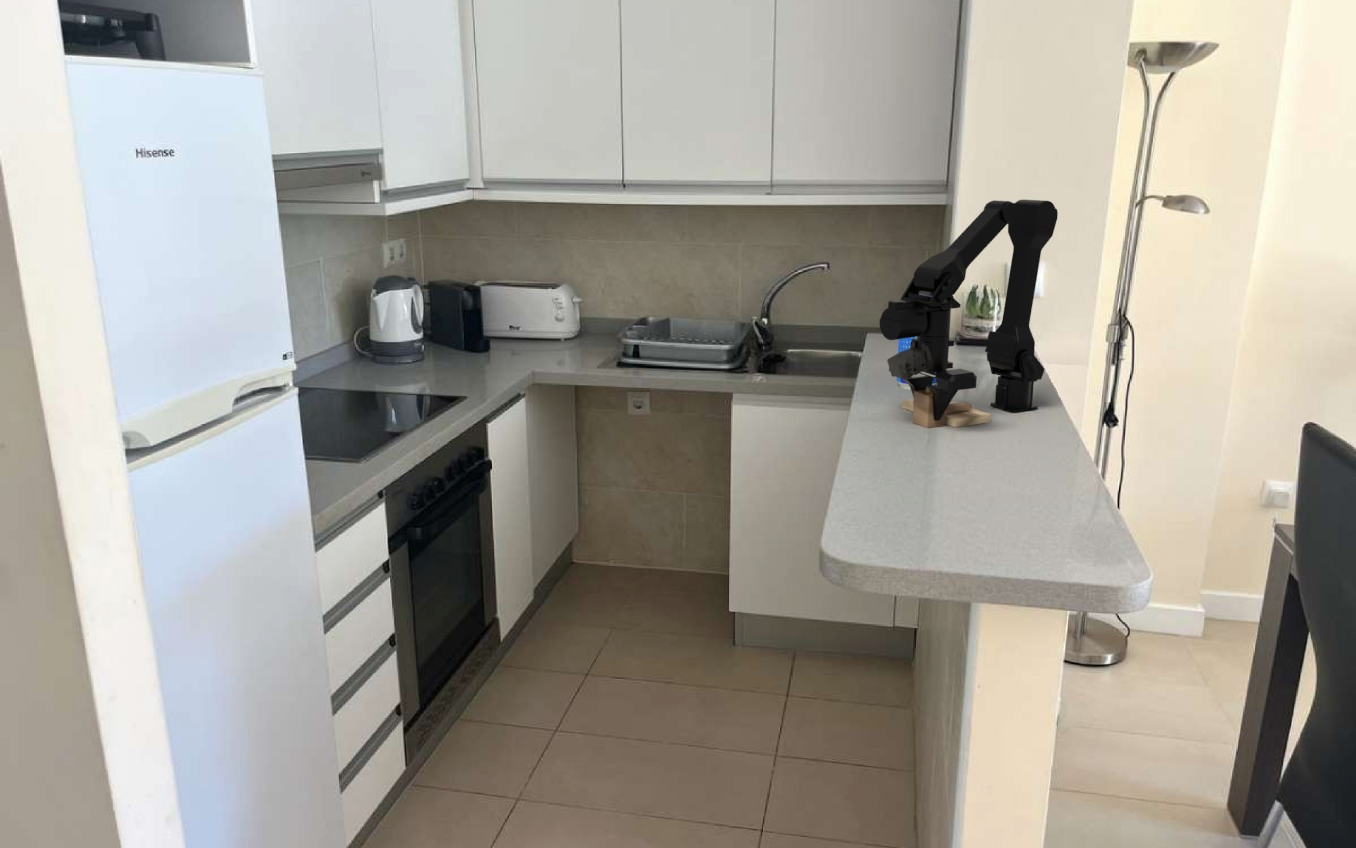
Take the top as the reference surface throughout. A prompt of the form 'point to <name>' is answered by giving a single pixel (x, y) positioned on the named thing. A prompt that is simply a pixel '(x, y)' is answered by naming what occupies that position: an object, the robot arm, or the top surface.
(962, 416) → the board
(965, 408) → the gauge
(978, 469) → the top surface
